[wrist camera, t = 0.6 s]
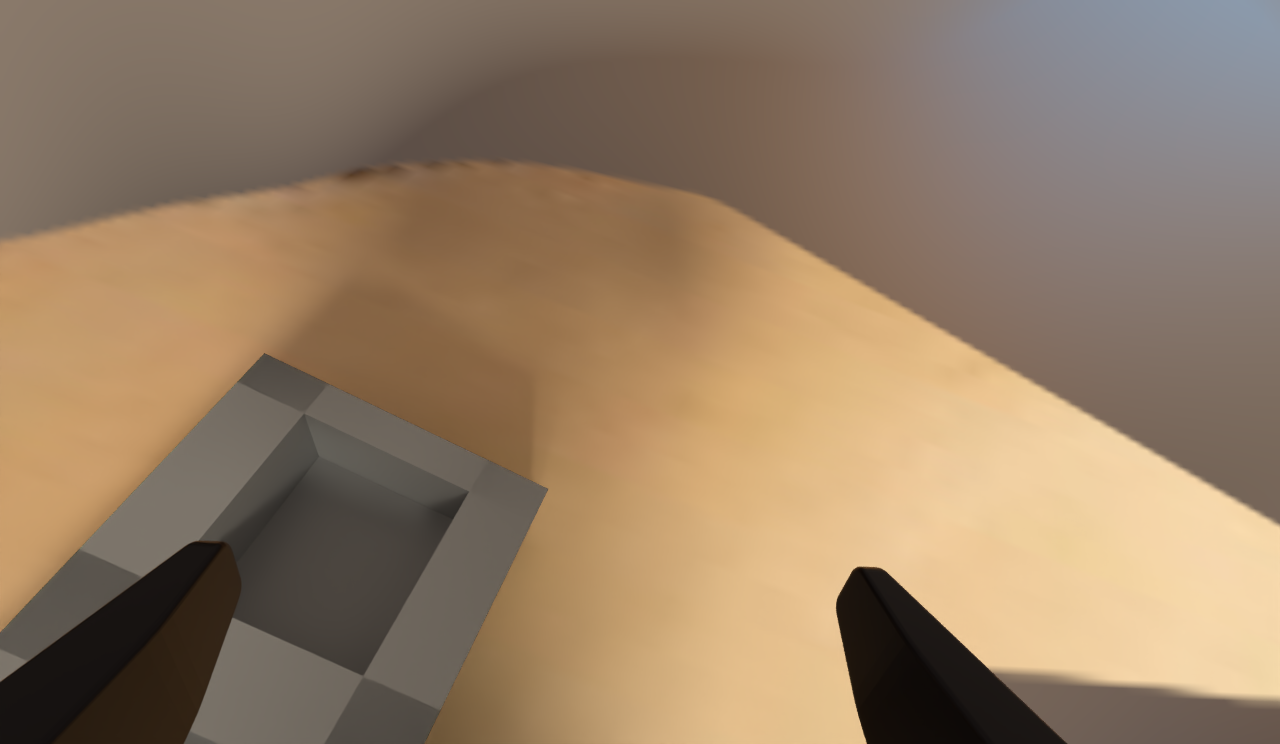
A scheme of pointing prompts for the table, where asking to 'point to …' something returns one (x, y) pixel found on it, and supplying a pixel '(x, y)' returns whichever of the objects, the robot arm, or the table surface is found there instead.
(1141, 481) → the table surface
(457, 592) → the socket block
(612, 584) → the table surface
